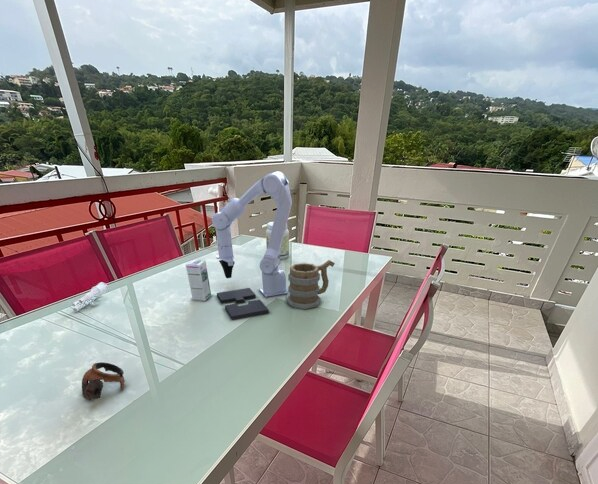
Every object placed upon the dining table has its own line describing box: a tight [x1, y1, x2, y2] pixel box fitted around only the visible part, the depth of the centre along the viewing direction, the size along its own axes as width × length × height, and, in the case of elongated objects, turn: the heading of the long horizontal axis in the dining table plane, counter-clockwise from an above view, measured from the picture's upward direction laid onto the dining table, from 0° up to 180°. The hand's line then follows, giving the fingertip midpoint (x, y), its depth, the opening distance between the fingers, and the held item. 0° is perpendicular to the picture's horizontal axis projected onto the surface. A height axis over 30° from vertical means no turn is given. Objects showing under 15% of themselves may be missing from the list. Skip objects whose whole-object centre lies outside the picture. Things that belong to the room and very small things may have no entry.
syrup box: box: [185, 259, 212, 302], centre depth 130 cm, size 6×6×14 cm
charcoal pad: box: [224, 299, 269, 321], centre depth 124 cm, size 14×10×2 cm
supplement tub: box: [265, 221, 290, 260], centre depth 175 cm, size 12×12×17 cm
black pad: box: [216, 287, 257, 305], centre depth 134 cm, size 14×10×2 cm
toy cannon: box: [71, 281, 110, 313], centre depth 126 cm, size 8×14×5 cm
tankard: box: [286, 259, 335, 310], centre depth 129 cm, size 20×13×15 cm, turn 117°
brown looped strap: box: [81, 361, 126, 401], centre depth 83 cm, size 12×10×8 cm
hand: (228, 277), depth 139 cm, fingers closed
